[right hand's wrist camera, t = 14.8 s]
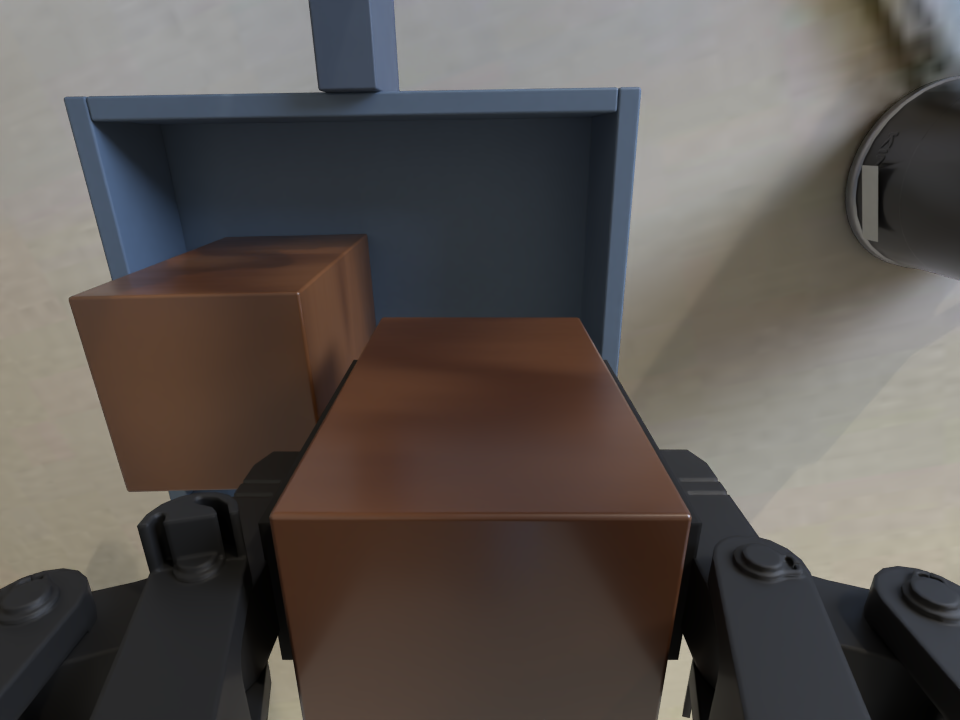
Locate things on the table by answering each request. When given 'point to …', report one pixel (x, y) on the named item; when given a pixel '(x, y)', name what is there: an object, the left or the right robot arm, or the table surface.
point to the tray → (383, 180)
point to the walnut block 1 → (224, 353)
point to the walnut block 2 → (480, 533)
